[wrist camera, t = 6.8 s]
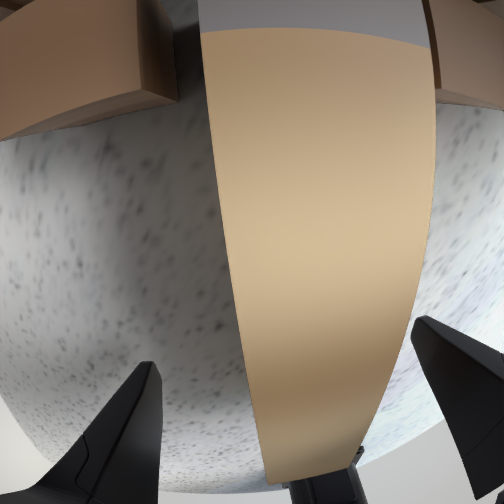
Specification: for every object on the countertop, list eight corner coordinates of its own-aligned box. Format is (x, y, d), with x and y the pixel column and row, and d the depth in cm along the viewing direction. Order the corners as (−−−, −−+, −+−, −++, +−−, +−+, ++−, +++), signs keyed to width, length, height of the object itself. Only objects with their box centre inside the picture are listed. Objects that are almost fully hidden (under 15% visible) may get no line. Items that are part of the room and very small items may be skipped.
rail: (316, 375, 12) (348, 467, 8) (252, 386, 12) (267, 484, 8) (310, 18, 6) (403, -57, 2) (205, 21, 6) (192, -81, 2)
